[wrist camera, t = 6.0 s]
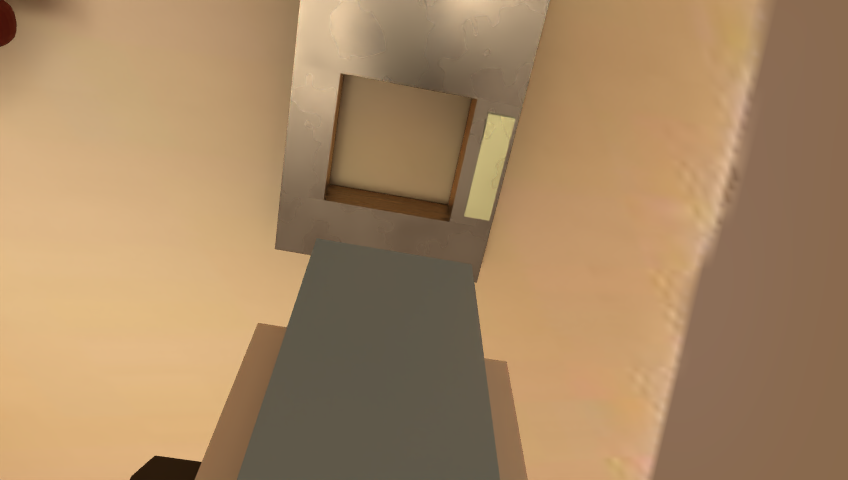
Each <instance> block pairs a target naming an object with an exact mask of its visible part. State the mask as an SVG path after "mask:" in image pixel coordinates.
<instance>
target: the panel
mask: <svg viewBox="0 0 848 480" xmlns="http://www.w3.org/2000/svg"><path fill="white" fill-rule="evenodd" d="M549 2H550V0H300V7H299V17H298V27H297V37H296V47H295V56H294V66H293V76H292V86H291V96H290V106H289V116H288V125H287V135H286V145H285V155H284V165H283V175H282V184H281V194H280V204H279V214H278V224H277V234H276V243H275V249H277V250H283V251H289V252H295V253H301V254H307V255H311V254H312V251H313V248H314V245H315V242H316V239H317V238H318V239H324V240H330V241H336V242H342V243H348V244H354V245H360V246H366V247H372V248H377V249H383V250H389V251H395V252H401V253H407V254H413V255H419V256H425V257H431V258H437V259H443V260H449V261H455V262H461V263H467V264H472V270H473V277H474V282H476V283H477V279H478V275H479V272H480V268H481V264H482V260H483V256H484V252H485V248H486V245H487V241H488V237H489V233H490V229H491V225H492V222H493V218H494V214H495V210H496V206H497V202H498V198H499V195H500V191H501V187H502V183H503V179H504V175H505V172H506V168H507V164H508V160H509V156H510V152H511V148H512V145H513V141H514V137H515V133H516V129H517V125H518V122H519V118H520V114H521V110H522V106H523V102H524V98H525V95H526V91H527V87H528V83H529V79H530V75H531V72H532V68H533V64H534V60H535V56H536V52H537V48H538V45H539V41H540V37H541V33H542V29H543V25H544V22H545V18H546V14H547V10H548V6H549ZM344 74H348V75H353V76H359V77H364V78H369V79H375V80H380V81H385V82H390V83H396V84H401V85H406V86H411V87H417V88H422V89H427V90H433V91H438V92H443V93H448V94H454V95H459V96H464V97H470V98H472V101H471V105H470V110H469V114H468V119H467V123H466V128H465V132H464V137H463V141H462V145H461V150H460V154H459V159H458V163H457V168H456V172H455V177H454V181H453V186H452V190H451V194H450V199H449V203H448V205H445V204H439V203H434V202H428V201H422V200H416V199H411V198H405V197H399V196H394V195H388V194H382V193H377V192H371V191H365V190H359V189H354V188H348V187H342V186H337V185H331V184H329V181H330V173H331V166H332V158H333V151H334V144H335V136H336V129H337V122H338V114H339V107H340V100H341V92H342V85H343V77H344Z"/></svg>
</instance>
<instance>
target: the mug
mask: <svg viewBox="0 0 848 480" xmlns="http://www.w3.org/2000/svg"><path fill="white" fill-rule="evenodd" d="M16 24H17V23H16V19H15V14H14V12H13V10H12V8H11V6H10V5H9V4H8V3H7V2H5V1H4V0H0V47H1V46H4V45H6V44H8V43H9V42H10V41H11V40H12V39H13V38H14V37H15V34H16Z"/></svg>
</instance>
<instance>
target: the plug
mask: <svg viewBox="0 0 848 480" xmlns="http://www.w3.org/2000/svg"><path fill="white" fill-rule="evenodd" d="M237 480H500V475H499V468H498V460H497V452H496V445H495V437H494V430H493V422H492V414H491V407H490V399H489V391H488V384H487V376H486V369H485V361H484V353H483V346H482V338H481V330H480V323H479V315H478V308H477V300H476V292H475V285H474V277H473V270H472V264H467V263H461V262H455V261H449V260H443V259H437V258H431V257H425V256H419V255H413V254H407V253H401V252H395V251H389V250H383V249H377V248H372V247H366V246H360V245H354V244H348V243H342V242H336V241H330V240H324V239H318V238H317V239H316V242H315V245H314V248H313V251H312V254H311V257H310V260H309V263H308V266H307V269H306V272H305V275H304V278H303V281H302V284H301V287H300V290H299V293H298V296H297V299H296V302H295V305H294V308H293V311H292V314H291V317H290V320H289V323H288V326H287V329H286V332H285V335H284V338H283V341H282V344H281V347H280V350H279V353H278V356H277V360H276V363H275V366H274V369H273V372H272V375H271V378H270V381H269V384H268V387H267V390H266V393H265V396H264V399H263V402H262V405H261V408H260V411H259V414H258V417H257V420H256V423H255V426H254V429H253V432H252V435H251V438H250V441H249V444H248V447H247V450H246V453H245V456H244V459H243V462H242V465H241V468H240V471H239V474H238V477H237Z"/></svg>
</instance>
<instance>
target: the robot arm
mask: <svg viewBox="0 0 848 480" xmlns="http://www.w3.org/2000/svg"><path fill="white" fill-rule="evenodd" d="M286 329H287V327H280V326H274V325H268V324H261V323H258V324H257V327H256V329H255V332H254V334H253V337H252V339H251V342H250V344H249V347H248V349H247V352H246V354H245V357H244V359H243V361H242V364H241V366H240V369H239V371H238V374H237V376H236V379H235V381H234V384H233V386H232V389H231V391H230V394H229V396H228V399H227V401H226V404H225V406H224V408H223V411H222V413H221V416H220V418H219V421H218V423H217V426H216V428H215V431H214V433H213V436H212V438H211V441H210V443H209V446H208V448H207V450H206V453H205V455H204V458H203V460H202V462H198V461H190V460H183V459H176V458H169V457H161V456H154V457H153V458H152V459H151V460H149V461H148V462H147V463H146V464H145V465H144V466H143V467H141V468H140V469H139V470H138V471H137V472H136V473H135V474H134V475H132V476H131V478H130V480H237V477H238V474H239V471H240V468H241V465H242V462H243V459H244V456H245V453H246V450H247V447H248V444H249V441H250V438H251V435H252V432H253V429H254V426H255V423H256V420H257V417H258V414H259V411H260V408H261V405H262V402H263V399H264V396H265V393H266V390H267V387H268V384H269V381H270V378H271V375H272V372H273V369H274V366H275V363H276V360H277V356H278V353H279V350H280V347H281V344H282V341H283V338H284V335H285V332H286ZM484 361H485V369H486V376H487V384H488V391H489V399H490V407H491V414H492V422H493V430H494V437H495V445H496V452H497V460H498V468H499V475H500V480H528V479H527V473H526V467H525V462H524V456H523V451H522V445H521V439H520V434H519V428H518V423H517V417H516V411H515V406H514V400H513V395H512V389H511V383H510V378H509V372H508V367H507V362H505V361H498V360H492V359H486V358H484Z"/></svg>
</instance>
